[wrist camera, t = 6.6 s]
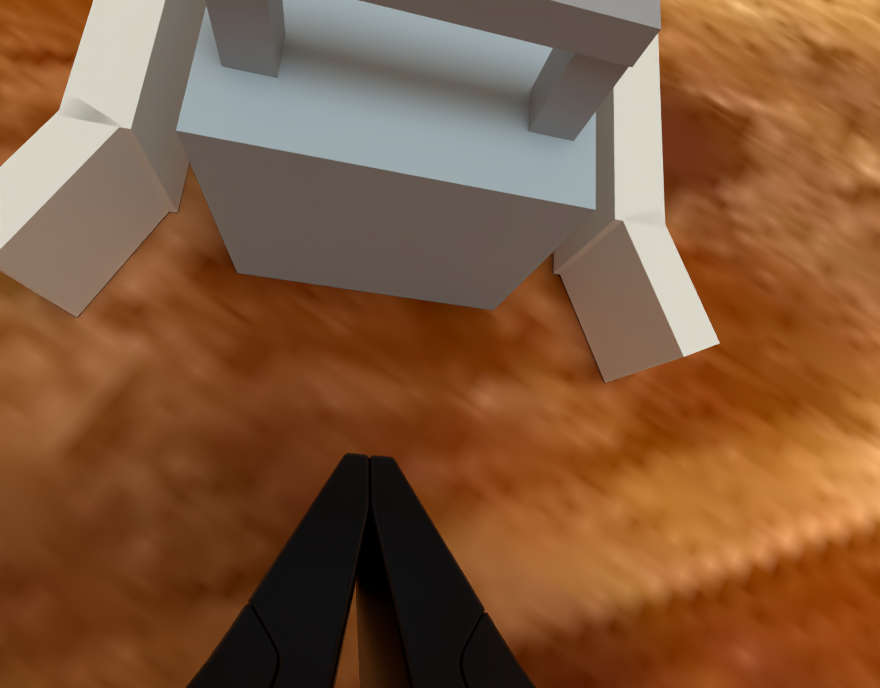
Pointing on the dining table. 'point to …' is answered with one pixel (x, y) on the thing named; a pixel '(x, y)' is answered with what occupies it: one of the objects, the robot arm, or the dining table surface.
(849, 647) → the dining table surface
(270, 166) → the box with loop handle
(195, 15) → the bay
